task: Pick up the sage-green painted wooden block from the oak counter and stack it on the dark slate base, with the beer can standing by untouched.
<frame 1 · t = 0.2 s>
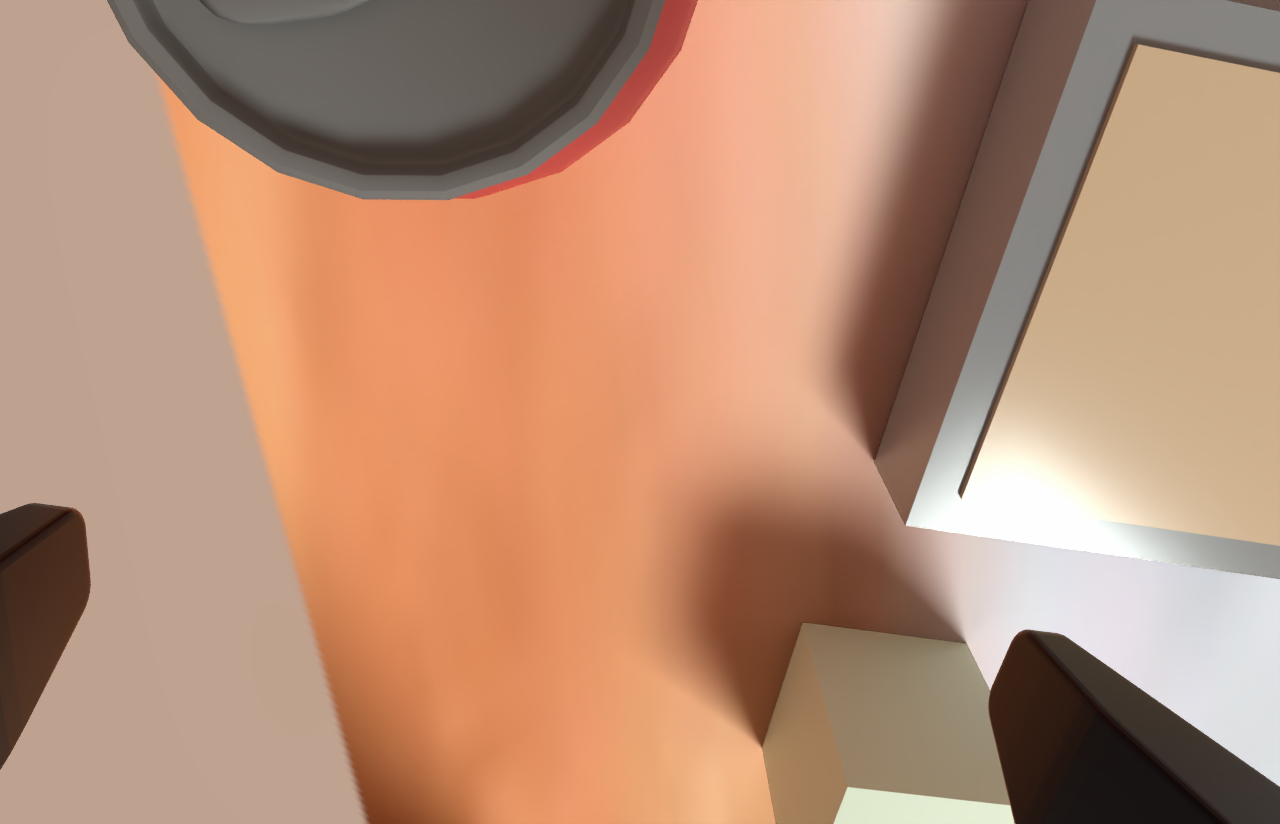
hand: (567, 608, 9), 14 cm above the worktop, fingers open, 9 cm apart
green block: (861, 696, 29), on the worktop
slate base: (1181, 285, 23), on the worktop
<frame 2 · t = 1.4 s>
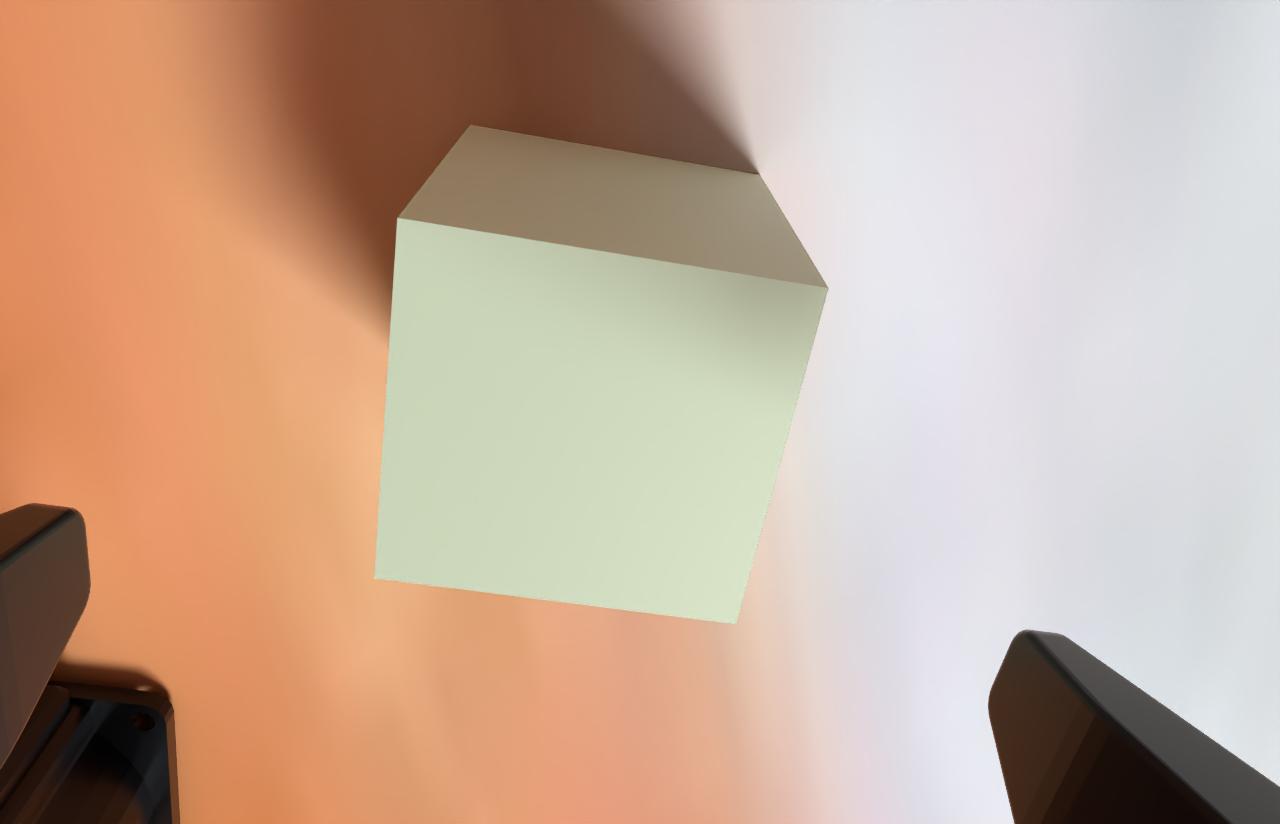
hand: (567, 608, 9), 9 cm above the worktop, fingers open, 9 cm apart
green block: (594, 287, 17), on the worktop
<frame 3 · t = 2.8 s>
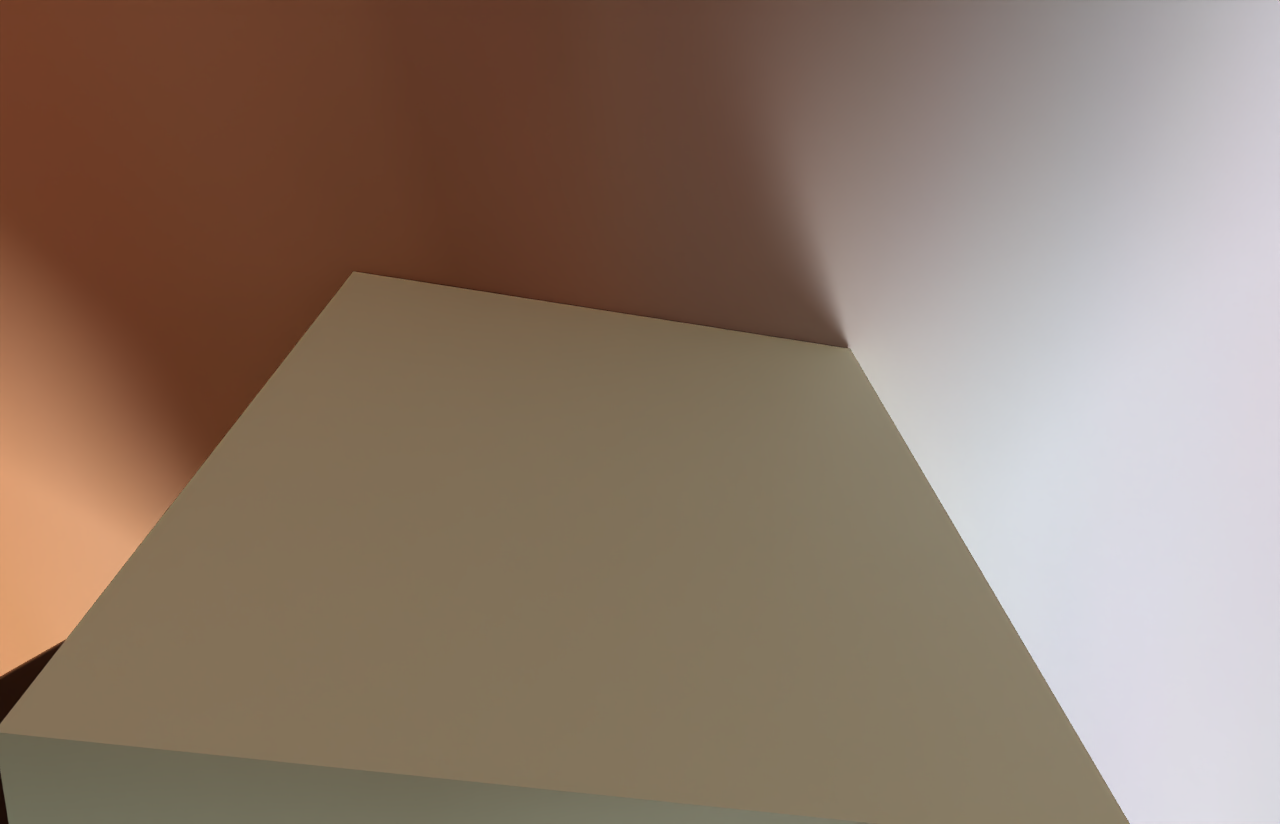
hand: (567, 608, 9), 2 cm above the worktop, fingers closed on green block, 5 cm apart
green block: (572, 521, 11), on the worktop, touching gripper
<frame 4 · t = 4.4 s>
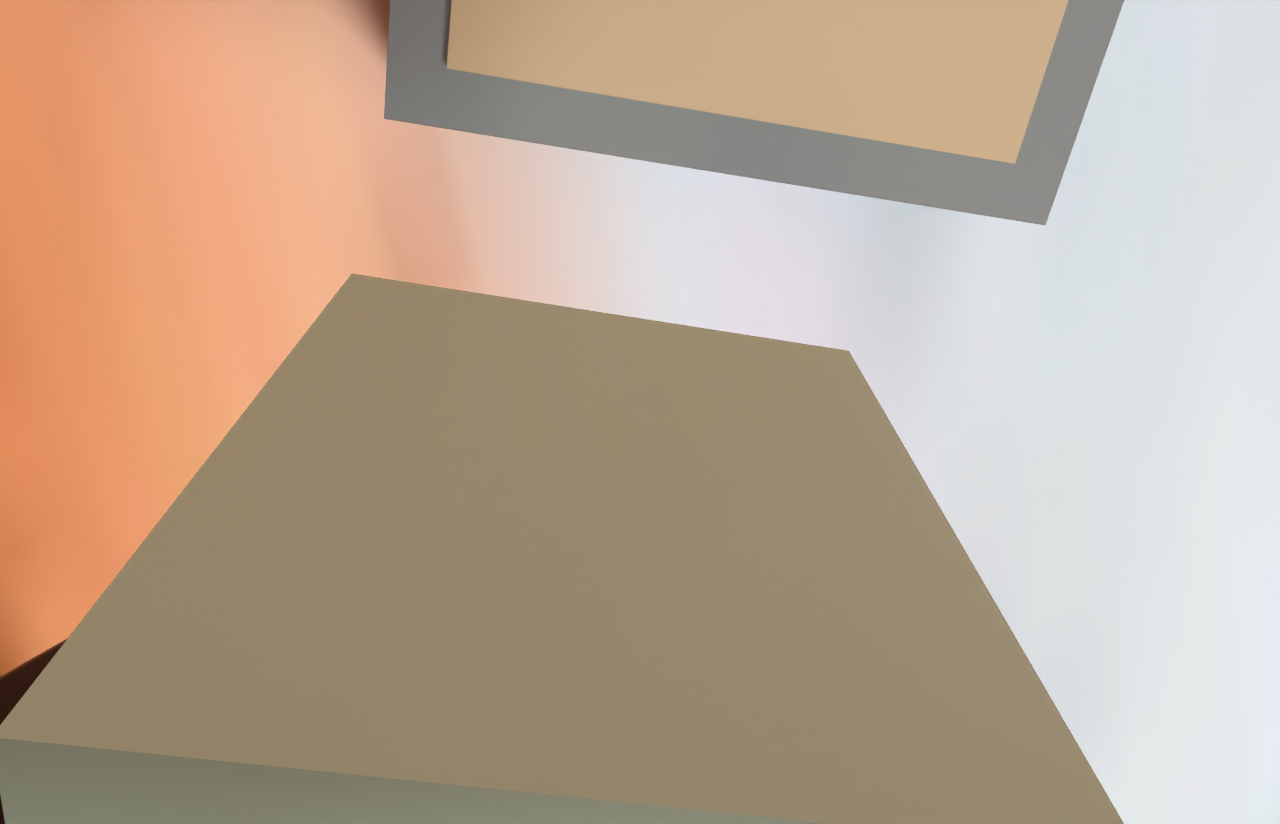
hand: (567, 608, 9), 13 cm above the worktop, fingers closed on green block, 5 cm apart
green block: (571, 523, 11), point 11 cm above the worktop, touching gripper
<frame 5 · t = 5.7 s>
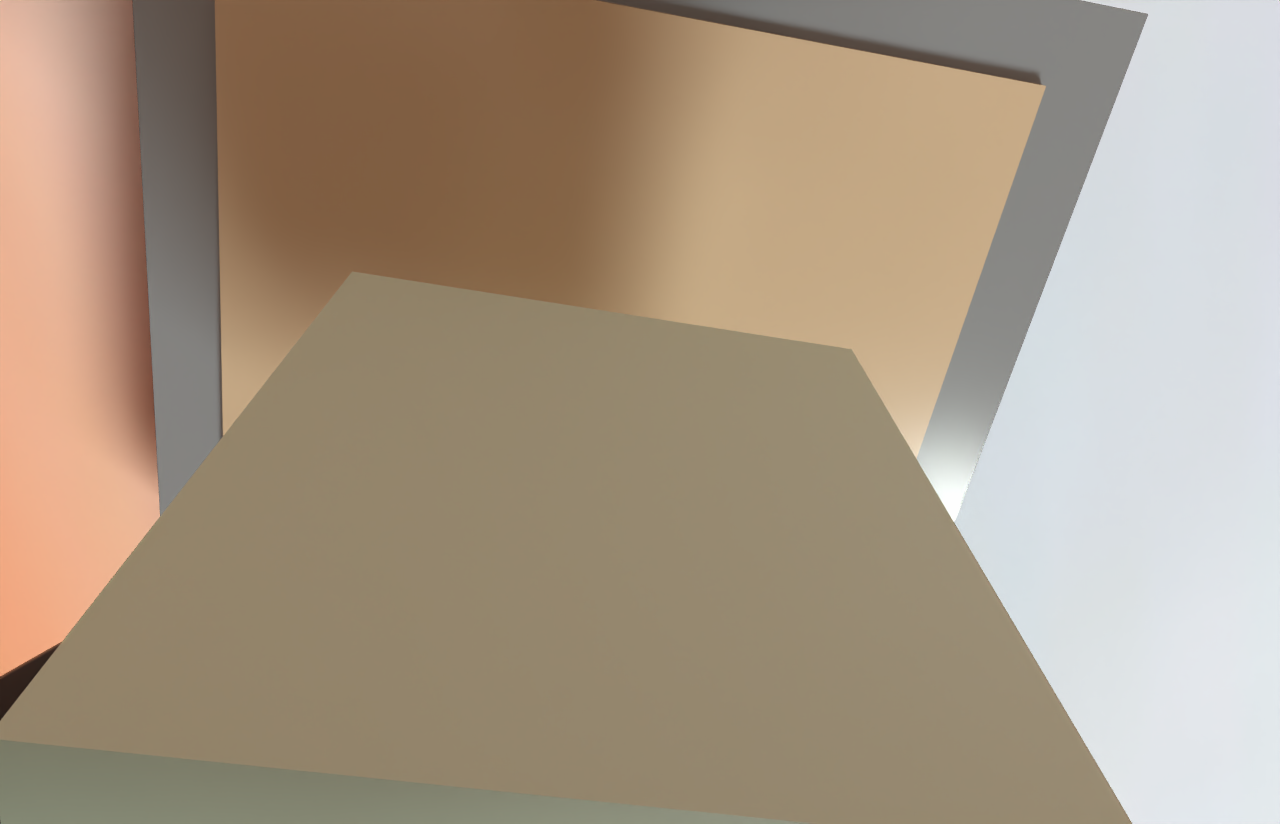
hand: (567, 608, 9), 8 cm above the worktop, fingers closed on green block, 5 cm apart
green block: (572, 522, 11), point 6 cm above the worktop, touching gripper
slate base: (590, 310, 16), on the worktop
when the fingers open (6 cm above the worktop, at t = 6.5 s): green block drops 1 cm, resting on slate base.
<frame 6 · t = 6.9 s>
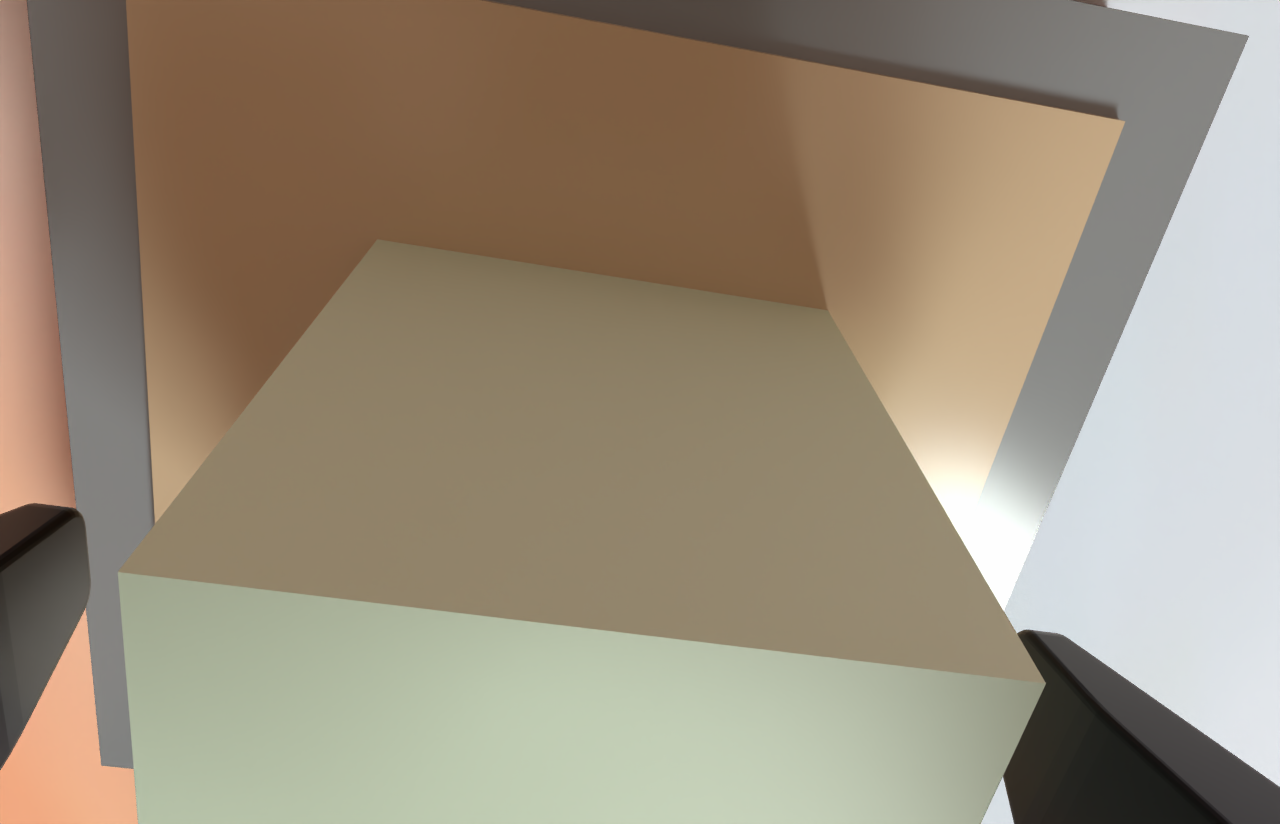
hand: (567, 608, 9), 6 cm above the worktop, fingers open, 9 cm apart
green block: (575, 471, 12), point 3 cm above the worktop, touching slate base
slate base: (583, 364, 14), on the worktop
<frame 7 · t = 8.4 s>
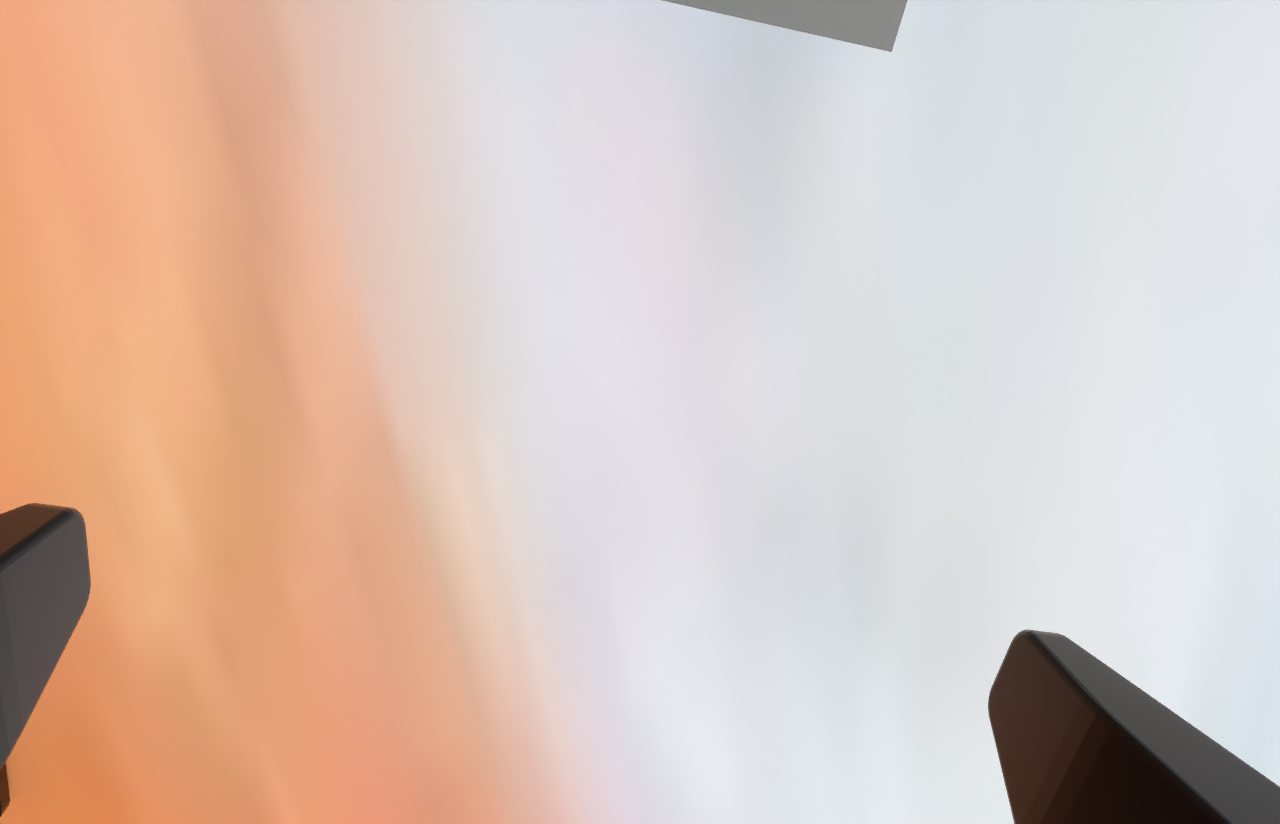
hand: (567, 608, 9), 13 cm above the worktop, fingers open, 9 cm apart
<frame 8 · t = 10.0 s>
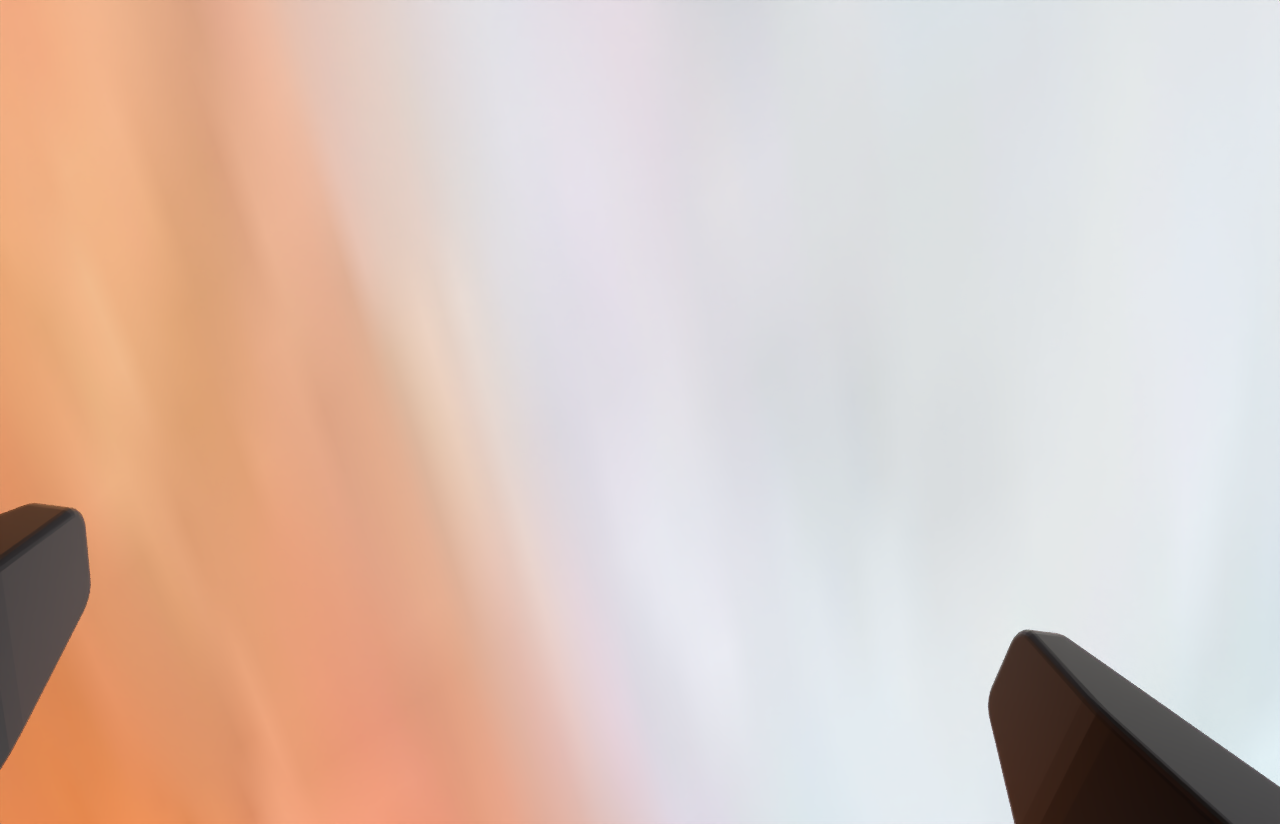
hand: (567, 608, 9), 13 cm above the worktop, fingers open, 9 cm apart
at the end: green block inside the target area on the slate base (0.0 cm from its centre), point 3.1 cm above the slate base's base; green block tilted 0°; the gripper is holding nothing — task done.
